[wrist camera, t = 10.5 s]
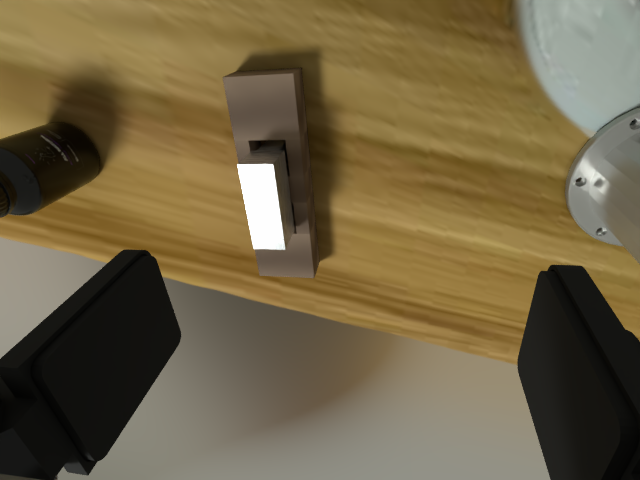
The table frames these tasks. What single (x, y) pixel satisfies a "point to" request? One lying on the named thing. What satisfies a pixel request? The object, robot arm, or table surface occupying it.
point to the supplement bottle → (44, 167)
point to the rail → (287, 124)
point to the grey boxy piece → (268, 195)
